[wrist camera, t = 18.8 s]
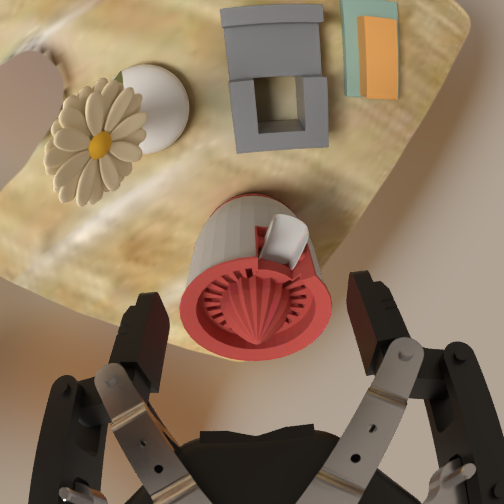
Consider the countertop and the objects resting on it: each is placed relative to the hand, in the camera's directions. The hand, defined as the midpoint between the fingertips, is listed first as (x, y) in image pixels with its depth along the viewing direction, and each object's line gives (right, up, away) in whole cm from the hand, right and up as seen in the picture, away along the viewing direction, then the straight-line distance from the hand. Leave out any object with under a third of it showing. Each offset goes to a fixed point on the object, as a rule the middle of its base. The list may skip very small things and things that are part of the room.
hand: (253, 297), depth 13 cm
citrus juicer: (0, +6, +32) cm, 33 cm away
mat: (+14, +26, +17) cm, 34 cm away
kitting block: (+2, +23, +19) cm, 30 cm away
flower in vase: (-12, +20, +21) cm, 32 cm away
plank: (+14, +25, +17) cm, 33 cm away
